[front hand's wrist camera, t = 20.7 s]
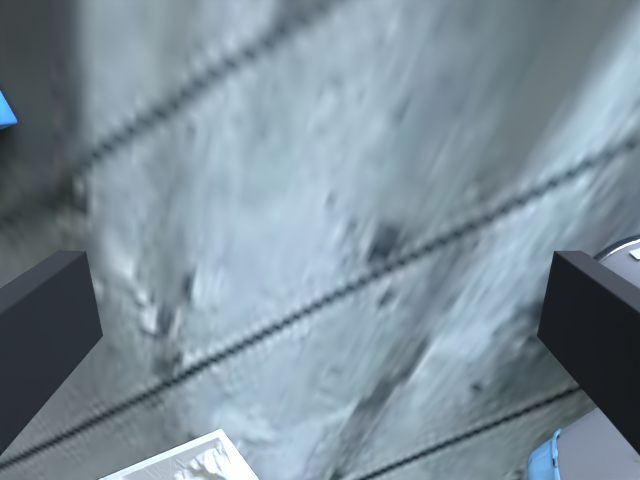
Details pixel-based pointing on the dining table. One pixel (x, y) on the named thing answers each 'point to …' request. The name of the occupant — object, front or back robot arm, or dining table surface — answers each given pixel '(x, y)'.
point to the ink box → (6, 114)
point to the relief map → (192, 462)
